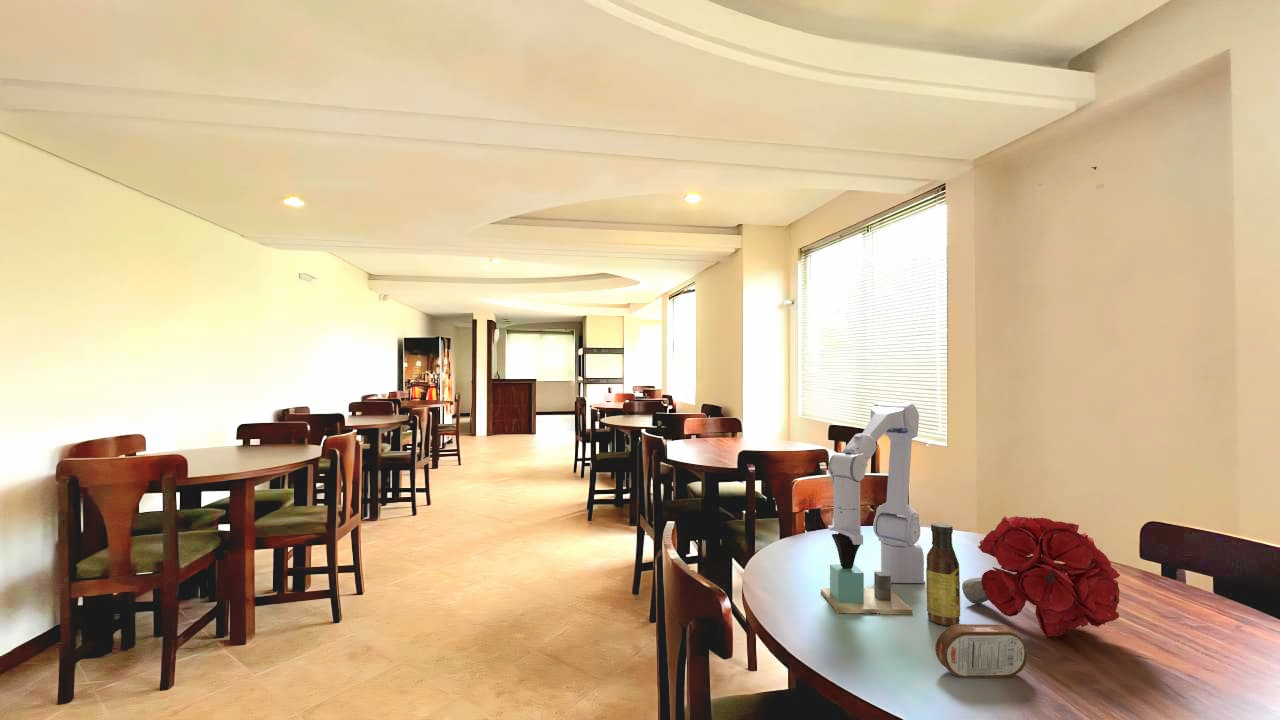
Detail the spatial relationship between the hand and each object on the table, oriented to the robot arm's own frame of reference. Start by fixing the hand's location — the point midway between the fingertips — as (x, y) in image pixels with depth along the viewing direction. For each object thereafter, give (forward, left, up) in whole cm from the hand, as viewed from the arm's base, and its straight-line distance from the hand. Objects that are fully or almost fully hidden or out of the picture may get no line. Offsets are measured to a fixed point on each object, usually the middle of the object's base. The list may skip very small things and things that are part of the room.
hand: (846, 567), depth 132 cm
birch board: (-4, 0, -8) cm, 9 cm away
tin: (-13, +31, -8) cm, 34 cm away
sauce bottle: (-17, +9, -8) cm, 21 cm away
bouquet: (-35, +11, -8) cm, 37 cm away
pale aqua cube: (0, 0, -7) cm, 7 cm away
